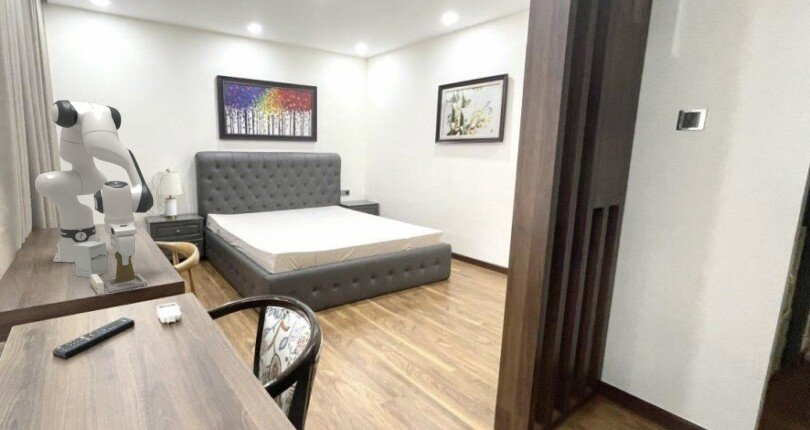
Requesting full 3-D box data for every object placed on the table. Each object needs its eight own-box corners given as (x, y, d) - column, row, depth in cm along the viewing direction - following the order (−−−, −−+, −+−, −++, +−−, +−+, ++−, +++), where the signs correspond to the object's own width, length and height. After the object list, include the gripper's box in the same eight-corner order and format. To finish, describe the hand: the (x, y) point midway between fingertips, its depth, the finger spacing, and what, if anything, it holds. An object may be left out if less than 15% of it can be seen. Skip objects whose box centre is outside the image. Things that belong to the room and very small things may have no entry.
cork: (112, 282, 143) (110, 253, 141) (119, 276, 149) (116, 248, 147) (132, 281, 145) (129, 252, 143) (137, 275, 151) (135, 248, 149)
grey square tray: (102, 284, 147) (102, 279, 147) (139, 277, 155) (138, 273, 155) (109, 292, 139) (109, 288, 139) (147, 285, 147) (146, 281, 147)
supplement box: (91, 278, 153) (88, 246, 150) (76, 276, 154) (72, 244, 152) (109, 272, 160) (106, 242, 157) (94, 270, 161) (91, 240, 159)
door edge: (90, 285, 145) (88, 274, 145) (97, 283, 147) (96, 273, 146) (96, 294, 137) (95, 283, 136) (104, 293, 139) (103, 282, 138)
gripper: (103, 222, 148) (107, 258, 151) (115, 232, 134) (119, 271, 137) (123, 220, 153) (126, 255, 155) (137, 230, 139) (140, 267, 141)
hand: (123, 262), depth 146 cm, fingers closed on cork, 4 cm apart
